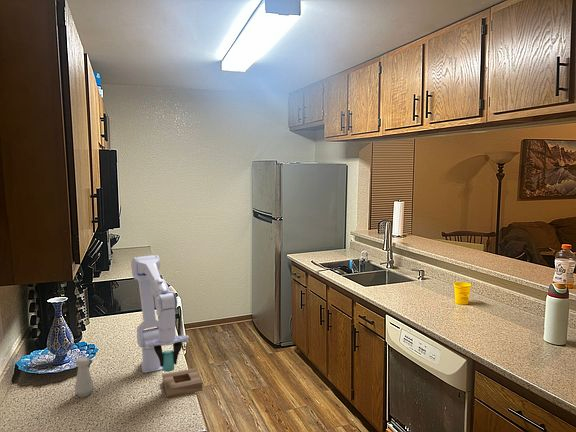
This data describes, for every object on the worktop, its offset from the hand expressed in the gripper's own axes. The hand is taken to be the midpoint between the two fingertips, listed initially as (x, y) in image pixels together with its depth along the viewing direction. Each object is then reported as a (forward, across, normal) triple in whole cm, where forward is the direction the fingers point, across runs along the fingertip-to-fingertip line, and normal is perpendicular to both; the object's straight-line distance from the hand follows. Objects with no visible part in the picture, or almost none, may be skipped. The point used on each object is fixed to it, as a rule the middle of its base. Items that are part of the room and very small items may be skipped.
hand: (168, 364), depth 156 cm
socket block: (+9, +4, 0) cm, 10 cm away
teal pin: (+2, 0, 0) cm, 2 cm away
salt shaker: (+9, -28, +8) cm, 30 cm away
